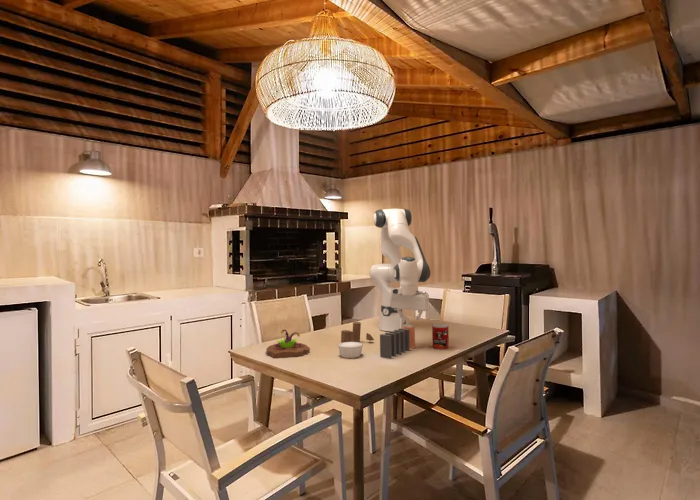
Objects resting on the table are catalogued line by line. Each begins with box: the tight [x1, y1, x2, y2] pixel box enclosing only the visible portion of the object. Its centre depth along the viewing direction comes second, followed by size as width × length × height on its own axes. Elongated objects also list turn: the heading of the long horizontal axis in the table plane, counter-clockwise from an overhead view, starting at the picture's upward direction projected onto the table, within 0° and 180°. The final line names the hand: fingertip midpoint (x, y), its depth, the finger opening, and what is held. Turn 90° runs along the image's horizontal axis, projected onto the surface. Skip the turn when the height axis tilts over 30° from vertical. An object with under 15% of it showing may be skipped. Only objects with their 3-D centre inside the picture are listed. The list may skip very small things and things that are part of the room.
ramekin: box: [337, 342, 363, 359], centre depth 188 cm, size 11×11×5 cm
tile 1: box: [399, 328, 411, 352], centre depth 197 cm, size 2×5×10 cm, turn 52°
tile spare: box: [404, 326, 416, 350], centre depth 201 cm, size 2×5×10 cm, turn 52°
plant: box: [265, 329, 311, 359], centre depth 197 cm, size 20×20×11 cm
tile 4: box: [384, 332, 397, 357], centre depth 187 cm, size 2×5×10 cm, turn 52°
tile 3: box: [389, 331, 402, 356], centre depth 191 cm, size 2×5×10 cm, turn 52°
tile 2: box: [394, 330, 406, 354], centre depth 194 cm, size 2×5×10 cm, turn 52°
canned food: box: [431, 323, 450, 350], centre depth 201 cm, size 8×8×11 cm
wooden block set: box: [340, 321, 375, 343], centre depth 212 cm, size 18×9×10 cm, turn 127°
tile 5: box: [379, 333, 393, 359], centre depth 184 cm, size 2×5×10 cm, turn 52°
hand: (409, 318), depth 202 cm, fingers open, 8 cm apart
